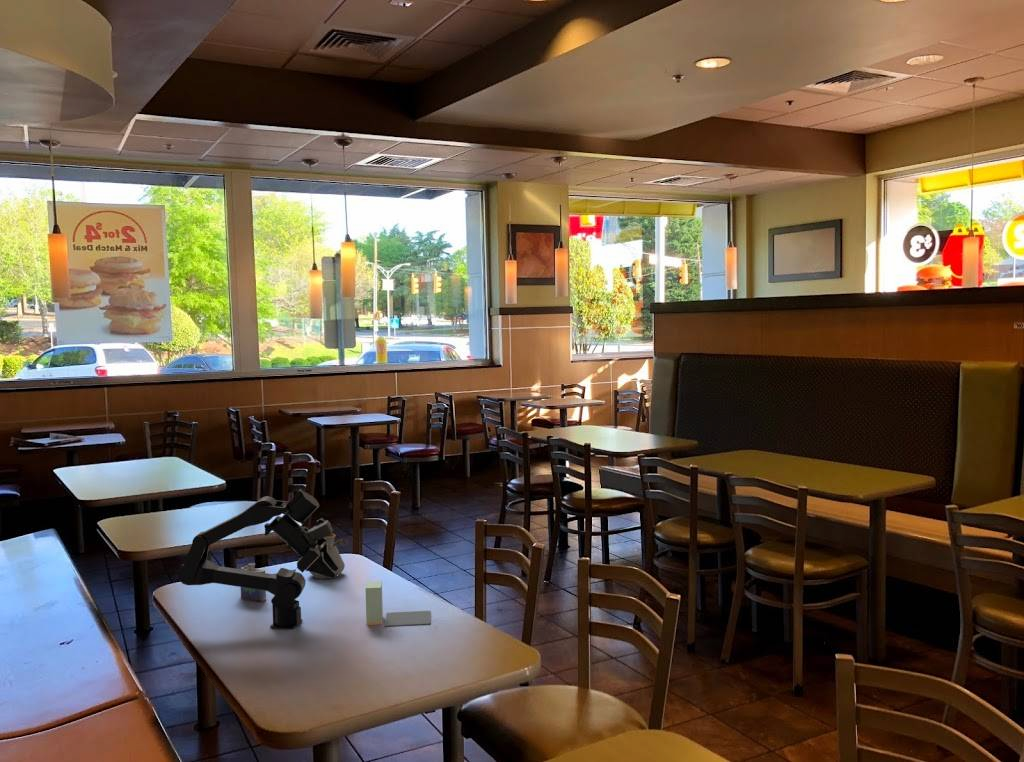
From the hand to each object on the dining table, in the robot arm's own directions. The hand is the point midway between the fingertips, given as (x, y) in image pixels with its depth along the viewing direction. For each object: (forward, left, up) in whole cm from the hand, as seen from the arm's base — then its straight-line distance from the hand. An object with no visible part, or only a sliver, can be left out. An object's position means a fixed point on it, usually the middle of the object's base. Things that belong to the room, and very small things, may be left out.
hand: (335, 573), depth 229 cm
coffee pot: (-18, +36, -14) cm, 42 cm away
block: (+9, +3, -14) cm, 17 cm away
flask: (-33, +14, -14) cm, 38 cm away
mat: (+18, +6, -14) cm, 23 cm away
